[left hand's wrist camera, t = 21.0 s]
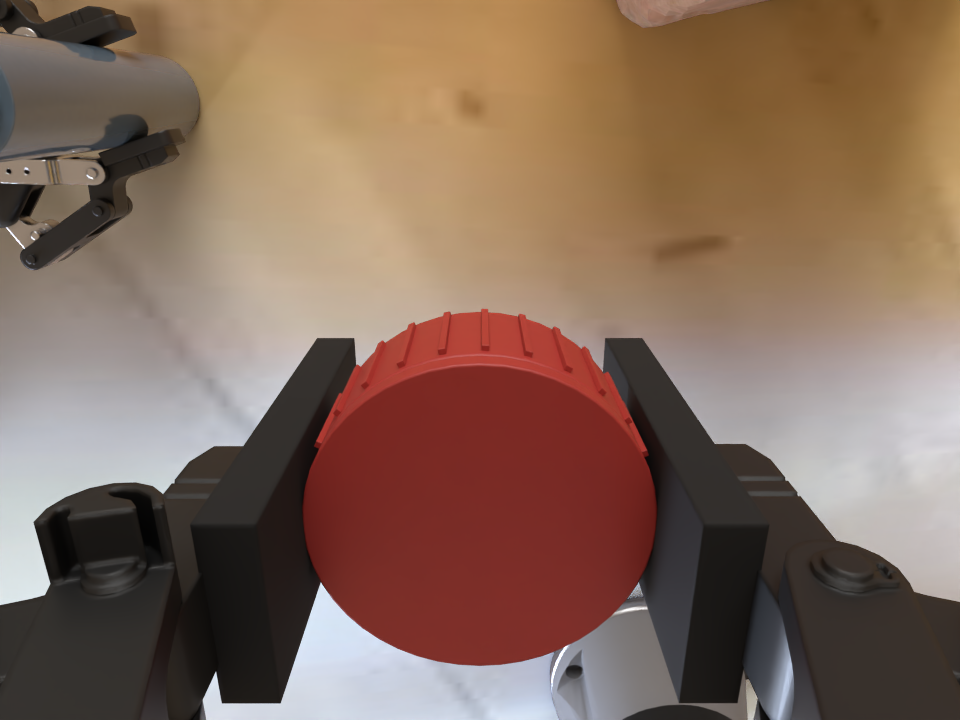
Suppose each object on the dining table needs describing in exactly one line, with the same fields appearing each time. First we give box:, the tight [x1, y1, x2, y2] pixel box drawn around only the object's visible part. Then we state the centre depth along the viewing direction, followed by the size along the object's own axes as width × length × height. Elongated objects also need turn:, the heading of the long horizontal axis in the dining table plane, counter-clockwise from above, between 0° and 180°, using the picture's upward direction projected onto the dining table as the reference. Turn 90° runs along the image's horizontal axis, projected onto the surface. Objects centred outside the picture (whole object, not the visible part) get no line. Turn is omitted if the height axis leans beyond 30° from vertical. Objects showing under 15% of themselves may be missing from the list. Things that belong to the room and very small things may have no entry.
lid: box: [302, 309, 657, 666], centre depth 11 cm, size 5×5×2 cm
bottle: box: [0, 32, 200, 162], centre depth 31 cm, size 5×5×19 cm
